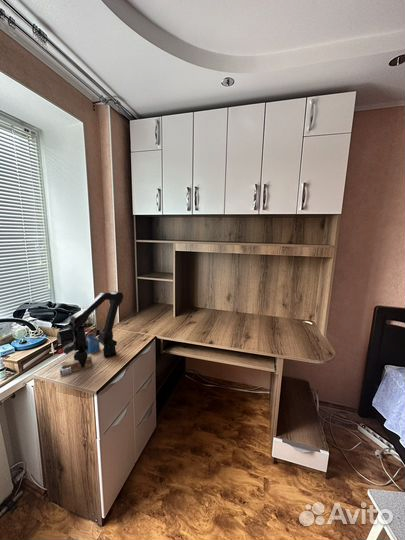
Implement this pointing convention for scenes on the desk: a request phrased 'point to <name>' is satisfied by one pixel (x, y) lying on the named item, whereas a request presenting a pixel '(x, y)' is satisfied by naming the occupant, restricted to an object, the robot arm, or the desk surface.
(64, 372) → the bracket
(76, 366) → the rail
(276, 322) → the desk surface
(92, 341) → the perfume bottle
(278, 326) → the desk surface
